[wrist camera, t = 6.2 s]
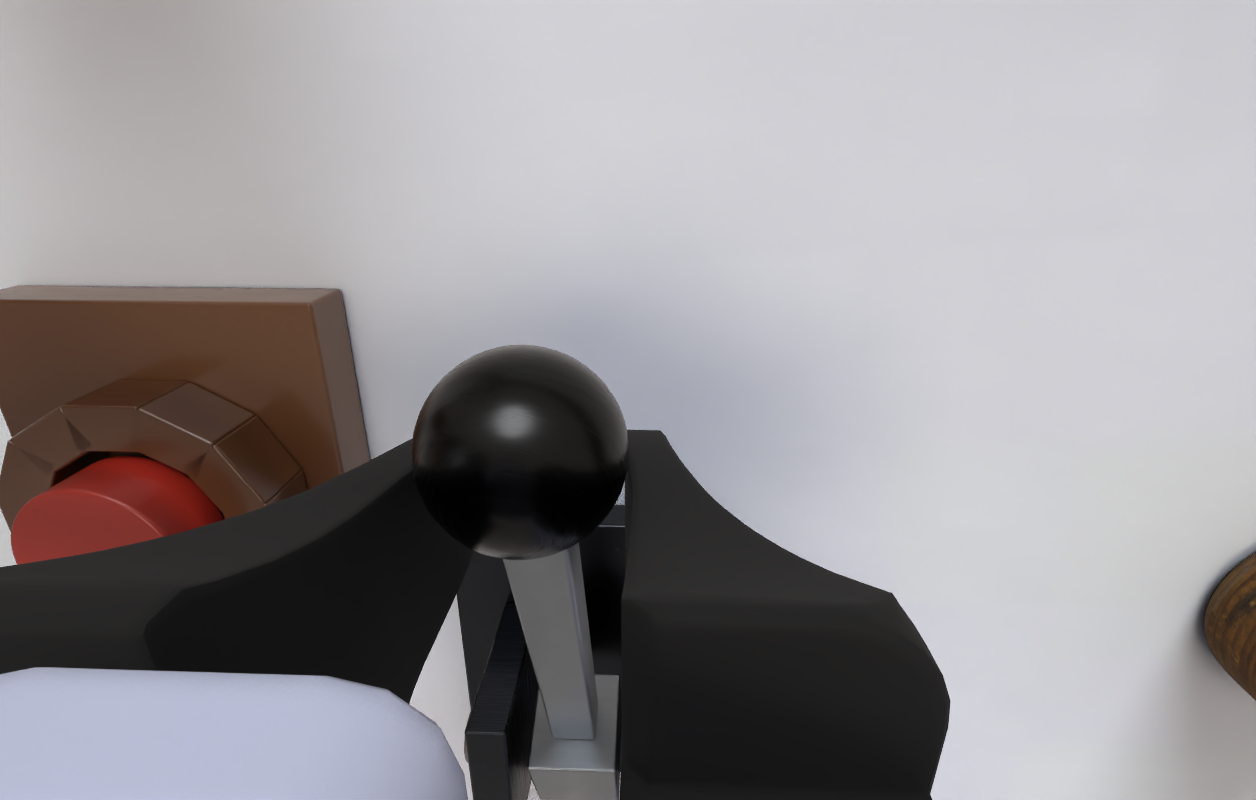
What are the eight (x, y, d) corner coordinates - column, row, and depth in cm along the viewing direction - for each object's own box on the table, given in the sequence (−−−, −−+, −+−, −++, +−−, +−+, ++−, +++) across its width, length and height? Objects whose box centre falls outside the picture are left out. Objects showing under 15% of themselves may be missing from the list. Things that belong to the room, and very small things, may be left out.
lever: (421, 300, 9) (347, 462, 7) (631, 302, 9) (623, 468, 7) (537, 698, 20) (523, 812, 17) (635, 701, 19) (632, 816, 17)
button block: (397, 615, 21) (351, 701, 18) (134, 608, 21) (42, 691, 18) (342, 288, 17) (268, 322, 14) (17, 284, 17) (-129, 317, 14)
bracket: (458, 500, 19) (383, 637, 14) (721, 506, 19) (748, 648, 14) (485, 738, 23) (434, 917, 18) (705, 745, 23) (721, 930, 18)
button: (245, 588, 17) (202, 635, 15) (100, 584, 17) (43, 630, 16) (208, 455, 16) (156, 492, 14) (50, 452, 16) (-19, 488, 14)
